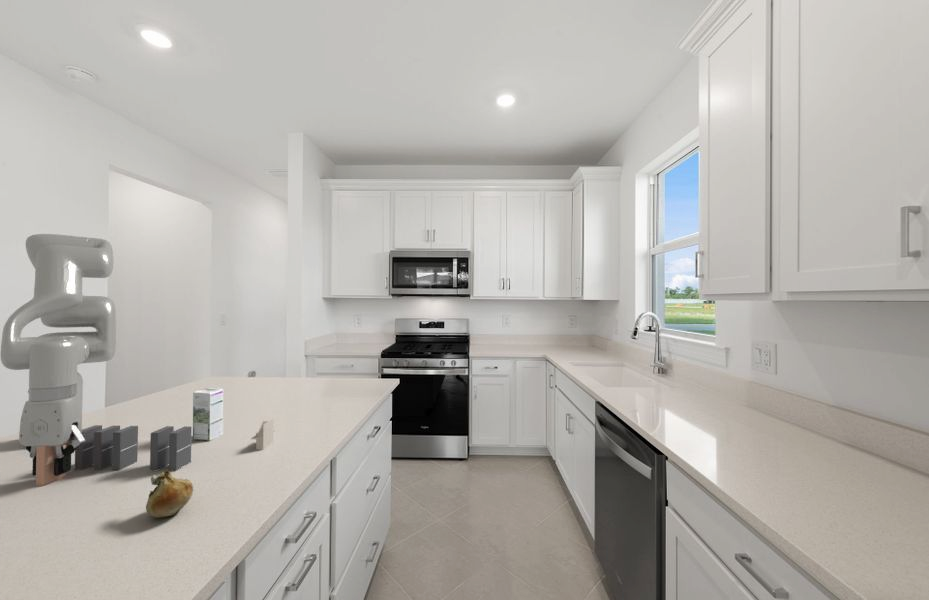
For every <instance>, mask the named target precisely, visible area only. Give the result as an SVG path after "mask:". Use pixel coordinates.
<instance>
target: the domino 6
mask: <svg viewBox="0 0 929 600" xmlns="http://www.w3.org/2000/svg"><path fill="white" fill-rule="evenodd" d="M189 462H191V463H192V426H183V427H181V428H178V429H175V430H174V431H173V432H171V433H169V465H168V471H169V470H177V469H179V468H180V469H182V468H183V467H182V466H184V465H185V466H187V465H189V464H190V463H189ZM188 463H189V464H188ZM186 464H187V465H186ZM185 466H184V467H185ZM181 467H182V468H181ZM180 469H179V470H180ZM177 471H178V470H177Z"/></svg>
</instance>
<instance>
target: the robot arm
mask: <svg viewBox="0 0 929 600" xmlns="http://www.w3.org/2000/svg"><path fill="white" fill-rule="evenodd" d="M25 250H26V253H27V256H28V259H29V261H30V263H31V264H32V266H33V268H34V269H35V271H34V275H35V276H34V287H33V297H32V299H31V300H28V302H26V303H24V304H22V306H19V308H17V309H16V310H15V311H14V312H13V313H12V314H11V315H10V316H9V317H8V319H7V320H6V322H5V323H4V325H3V328H2V335H1V341H0V343H1V345H0V361H1V364H2V365H3V366H4V367H5V368H6V369H9V370H11V371H12V370H13V371H14V370H15V371H21V370H22V371H23V370H28V390H27V394H28V400H27V401H25V403H24V405H23V408H22V411H21V412H22V413H21V417H20V425H19V430H18V431H19V432H18V433H19V435H18V442H19V444H20V445H21V446H22V447H24V448H25V449H26V451H28V453H29V457H30V458H31V459H32V474H31V475H32V476H35V477H36V448H37V446H55V448H56V454H57V457H58V458H55V459H54V476H59V475H61V474H63V473H66V472H67V473H68V472H70V471H71V469H72V454H75V450H76V449H77V448H78V447H79V446H80V445H82V444H83V443H85V439H84V437H83V436H82V434H81V433H82V430H83V429H84V428H83V395H84V394H83V393H84V392H83V388H84V385H83V384H84V381H83V376H82V375H81V373H79V372H78V366H79V365H81V364H92V363H93V364H95V363H103V362H108V361H111V360H112V359H113V358H114V356H115V355H116V343H117V342H116V341H117V339H116V335H117V334H116V331H117V329H116V327H117V326H116V324H117V322H116V321H117V320H116V318H117V316H116V306H115V303H114V301H113V300H112V299H111V298H109V297H108V296H103V295H102V296H101V295H83V278H91V279H93V278H95V279H107V278H108V277H110V276H111V274H112V273H113V270H114V253H113V252H114V251H113V247H112V245H111V243H110V242H109V241H108V240H106V239H103V238H96V237H88V236H87V237H85V236H75V235H66V234H57V233H56V234H54V233H38V234H31V235H29V236H28V237H27V238H26V240H25ZM37 319H40V322H41V323H42V325H43V326H46V327H48V328H56V329H57V328H63V329H64V328H65V329H66V328H67V329H68V328H94V330H96V331H66V332H65V331H64V332H51V333H50V332H49V333H45V334H42V335H38V336H29V337H21V335H22V332H23V329H24V328H25V327H26V326H27V325H28V324H30V323H32V322H33V321H36V320H37ZM63 445H66V448H65V449H63Z"/></svg>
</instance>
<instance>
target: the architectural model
mask: <svg viewBox="0 0 929 600" xmlns="http://www.w3.org/2000/svg"><path fill="white" fill-rule="evenodd" d="M274 432H275V430H274V418H272V419H270V420H263V421H262V422H261V425H260V427H259V431H258V432H255V435H254V436H252V437H251V438H250V440H256V442H255V450H256V451H264V450H265V449H267V448H268V447H270V446H271V445H272V444H274Z"/></svg>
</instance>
